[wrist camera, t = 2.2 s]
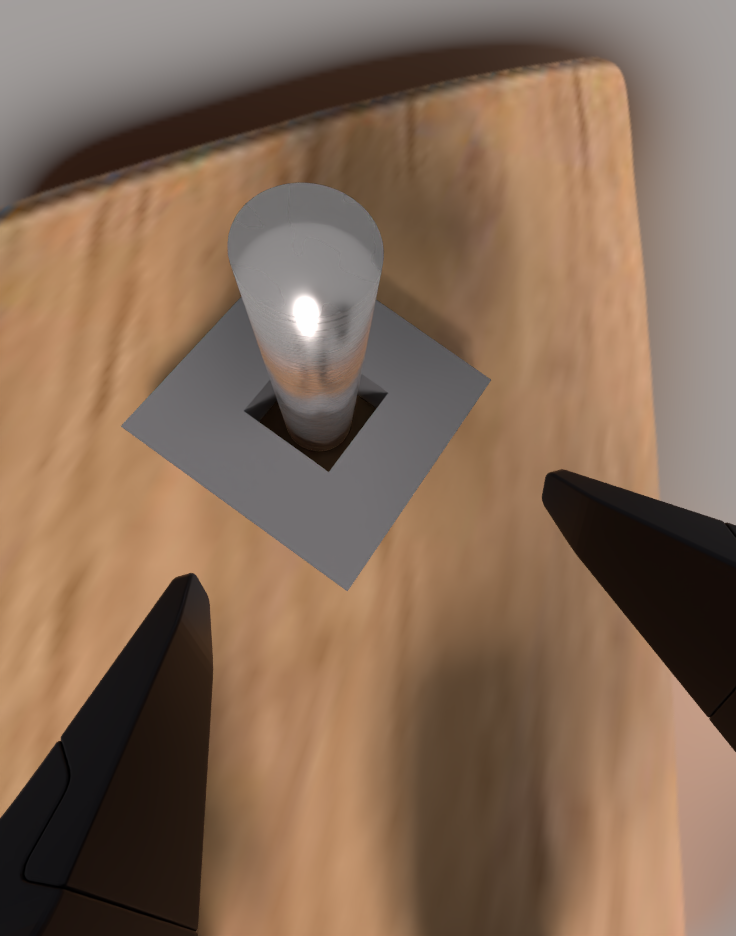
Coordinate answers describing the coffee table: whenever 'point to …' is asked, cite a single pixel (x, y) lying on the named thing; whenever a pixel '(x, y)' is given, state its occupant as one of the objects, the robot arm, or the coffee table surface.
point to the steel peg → (309, 300)
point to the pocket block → (287, 469)
